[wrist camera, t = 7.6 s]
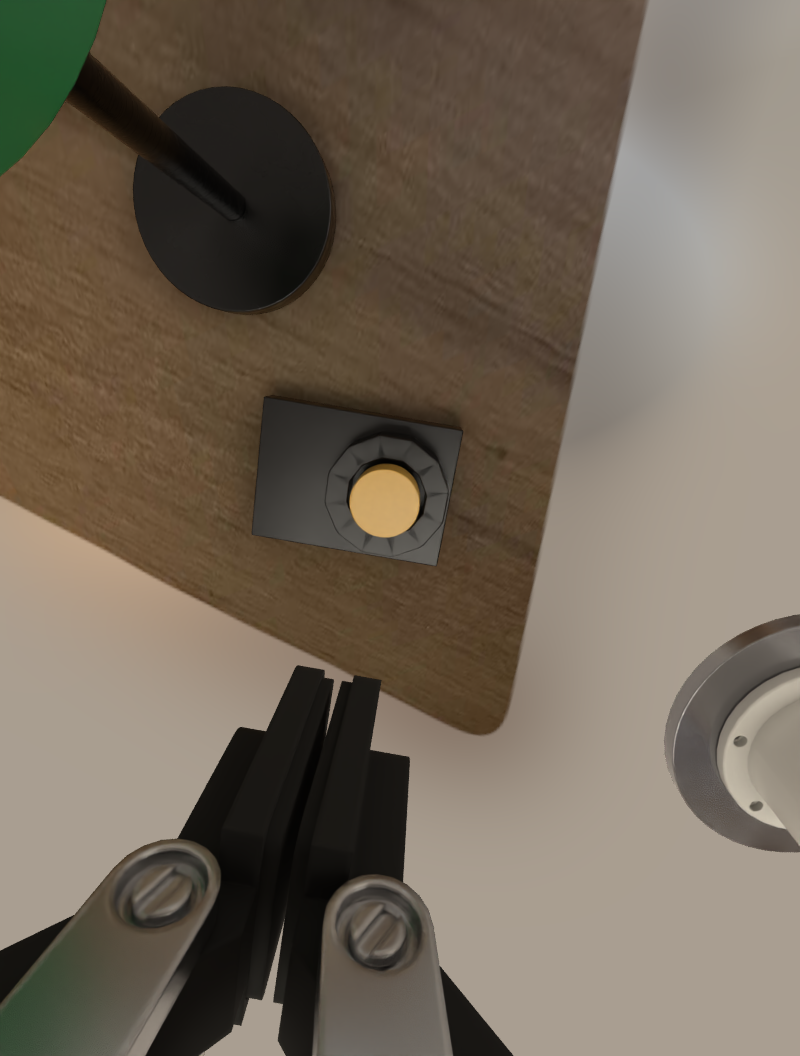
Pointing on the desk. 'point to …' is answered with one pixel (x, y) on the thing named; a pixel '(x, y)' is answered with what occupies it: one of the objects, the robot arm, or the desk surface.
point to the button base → (348, 476)
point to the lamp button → (385, 500)
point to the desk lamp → (180, 162)
